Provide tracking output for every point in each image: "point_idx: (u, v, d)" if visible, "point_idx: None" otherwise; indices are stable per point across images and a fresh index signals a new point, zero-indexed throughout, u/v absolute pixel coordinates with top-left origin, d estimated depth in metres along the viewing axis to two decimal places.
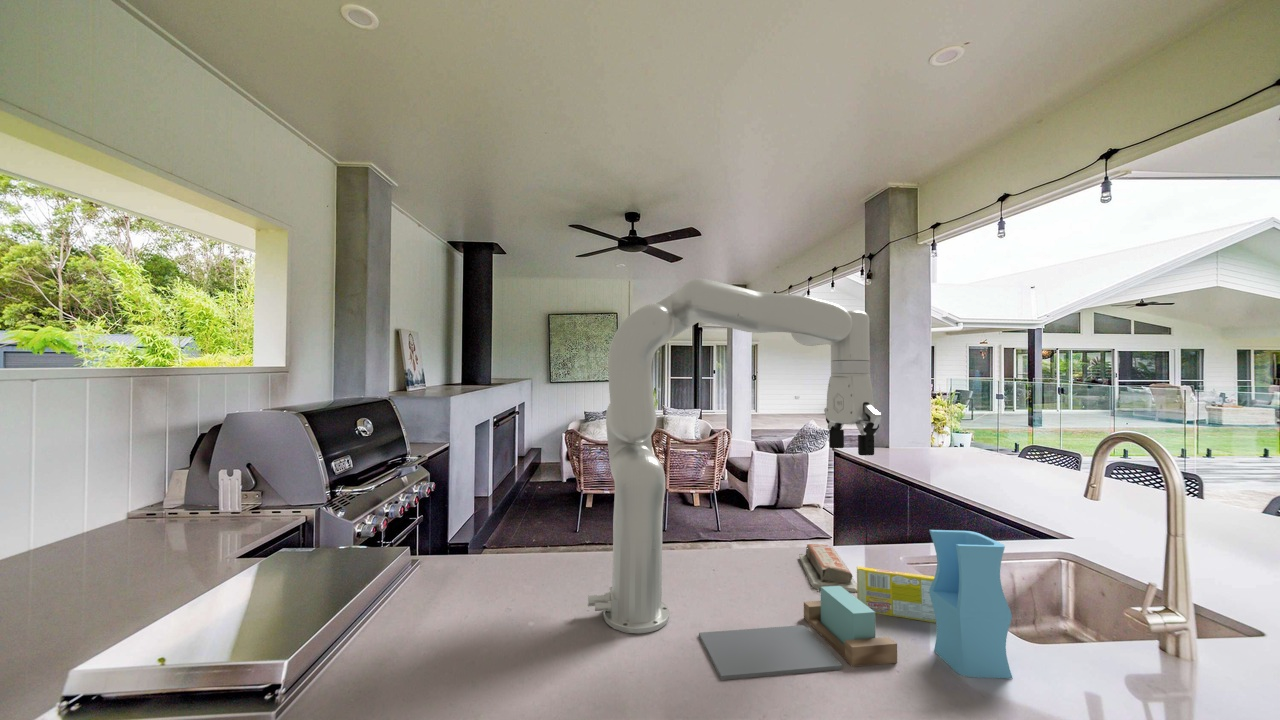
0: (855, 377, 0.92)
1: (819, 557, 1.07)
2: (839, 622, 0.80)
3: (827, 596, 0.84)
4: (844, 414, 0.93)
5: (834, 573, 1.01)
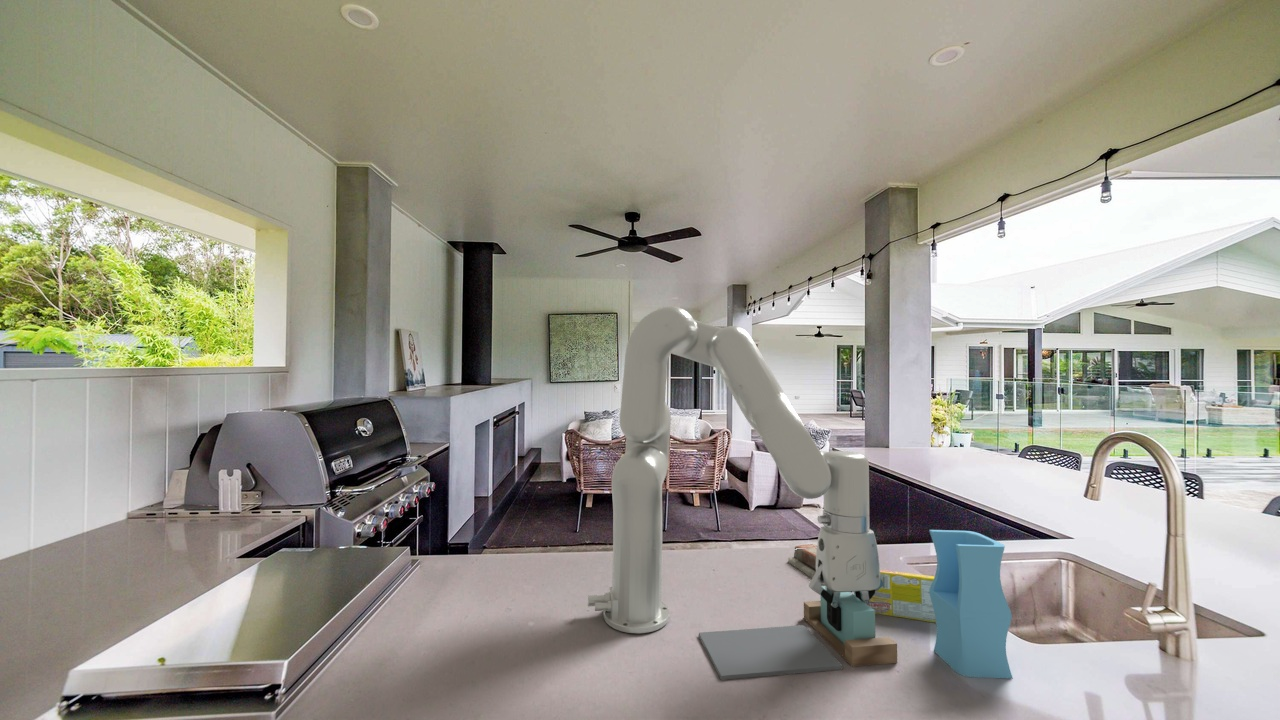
0: None
1: None
2: None
3: None
4: (867, 580, 0.79)
5: None
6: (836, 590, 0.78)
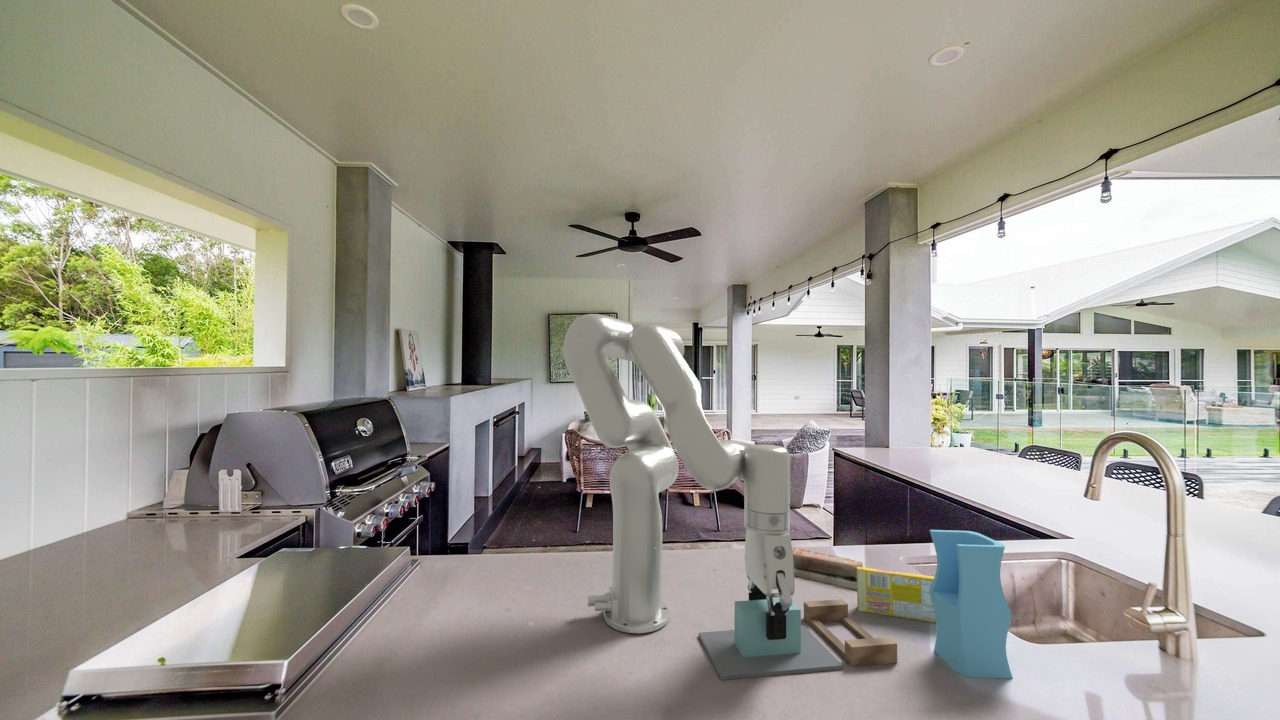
0: None
1: (833, 560, 1.06)
2: None
3: (756, 617, 0.74)
4: None
5: None
6: None
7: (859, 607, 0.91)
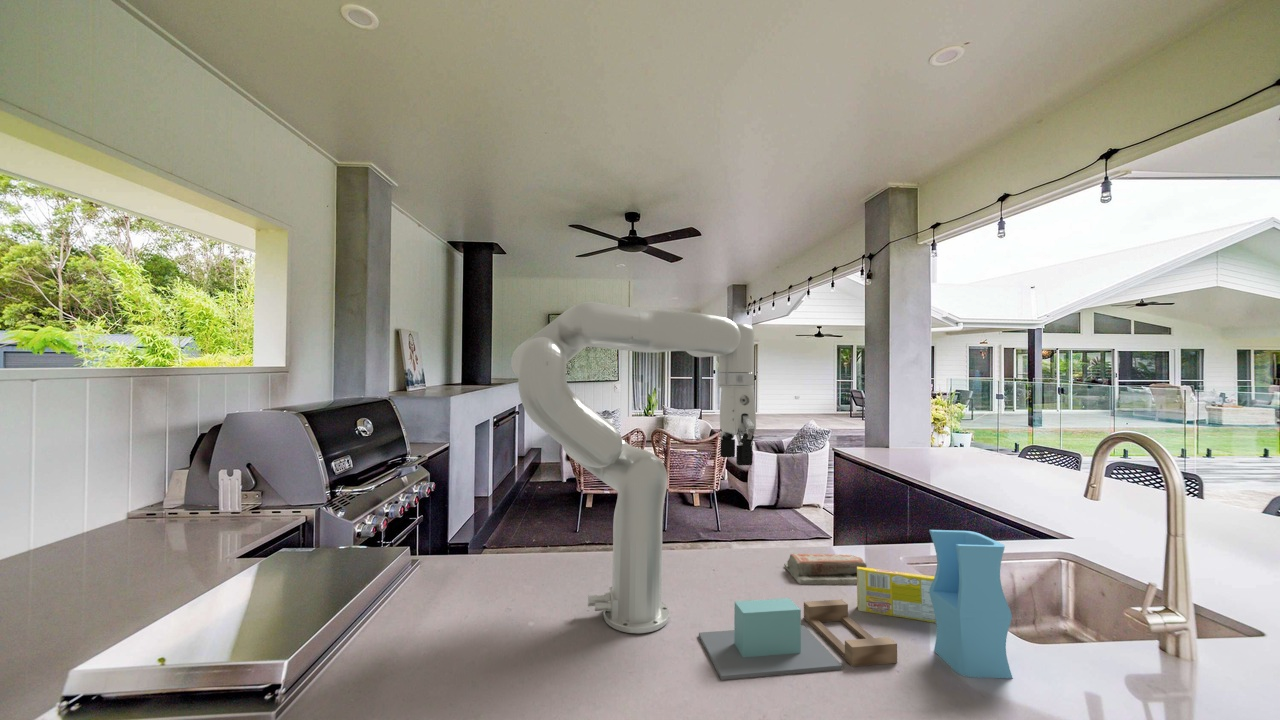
0: None
1: (839, 560, 1.06)
2: (778, 632, 0.75)
3: (756, 617, 0.74)
4: None
5: None
6: None
7: (859, 607, 0.91)
